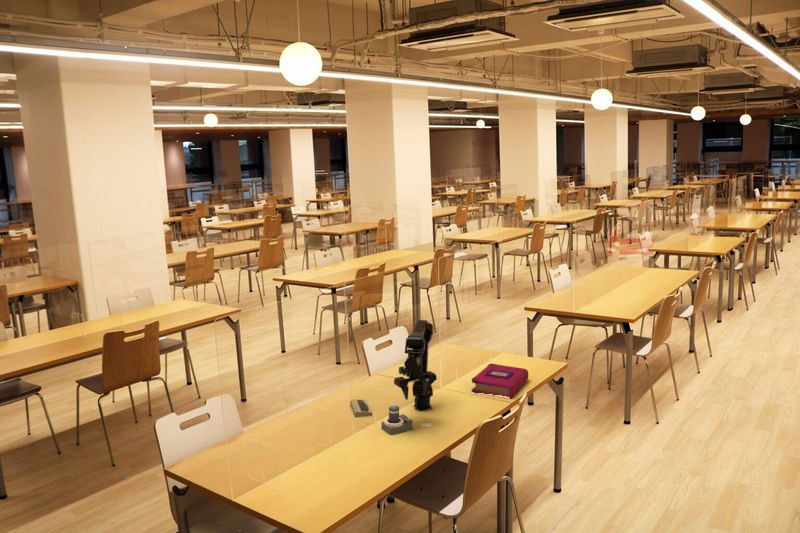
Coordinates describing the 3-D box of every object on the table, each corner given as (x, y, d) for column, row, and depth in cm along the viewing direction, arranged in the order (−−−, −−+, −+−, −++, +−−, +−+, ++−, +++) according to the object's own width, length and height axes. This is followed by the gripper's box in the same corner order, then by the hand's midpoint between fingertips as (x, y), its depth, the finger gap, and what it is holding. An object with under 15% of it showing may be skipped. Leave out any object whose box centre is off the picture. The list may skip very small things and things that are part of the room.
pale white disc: (428, 422, 304) (428, 421, 304) (434, 426, 300) (434, 425, 300) (418, 425, 302) (418, 423, 302) (424, 429, 298) (424, 427, 297)
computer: (372, 416, 312) (372, 409, 311) (355, 418, 310) (354, 411, 310) (366, 404, 327) (366, 397, 326) (350, 405, 325) (349, 399, 325)
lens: (395, 420, 299) (395, 404, 298) (401, 423, 295) (401, 408, 294) (386, 422, 297) (386, 406, 296) (392, 425, 293) (391, 410, 292)
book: (528, 381, 354) (528, 367, 353) (511, 400, 330) (511, 385, 328) (489, 375, 364) (490, 362, 362) (470, 393, 339) (470, 378, 338)
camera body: (403, 423, 303) (403, 412, 302) (412, 429, 296) (412, 419, 295) (381, 428, 298) (381, 417, 297) (390, 435, 291) (390, 424, 290)
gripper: (424, 355, 309) (424, 388, 312) (387, 362, 300) (388, 395, 303) (437, 362, 300) (437, 395, 302) (400, 369, 291) (400, 404, 293)
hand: (415, 397), depth 301 cm, fingers open, 9 cm apart
